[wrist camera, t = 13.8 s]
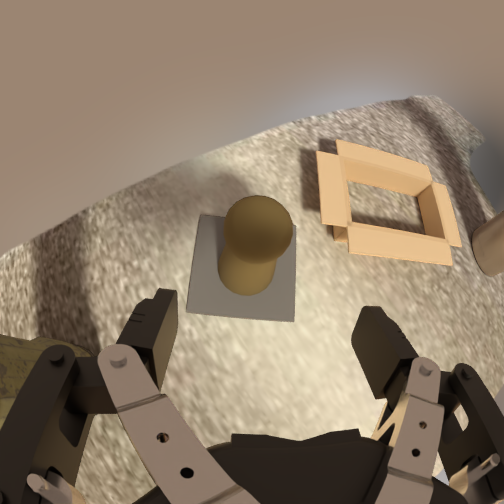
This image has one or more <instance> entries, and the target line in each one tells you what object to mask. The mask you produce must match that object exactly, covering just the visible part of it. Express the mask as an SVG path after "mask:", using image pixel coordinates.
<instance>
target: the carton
mask: <svg viewBox="0 0 504 504" xmlns="http://www.w3.org/2000/svg"><path fill="white" fill-rule="evenodd" d="M335 142H336V148H337V154H338V155H335V154H331V153H326V152H321V151H316V159H317V171H318V183H319V198H320V215H321V224H328V225H333V232H334V241H340V242H347V243H348V253H353V254H362V255H370V256H378V257H386V258H394V259H403V260H410V261H418V262H426V263H434V264H442V265H449V266H452V265H453V263H452V257H451V252H450V246H449V245H452V246H457V247H462V245H461V240H460V236H459V232H458V227H457V223H456V219H455V216H454V212H453V208H452V205H451V201H450V198H449V195H448V192H447V188H446V186H444V185H441V184H439V183H436V182H433V180H432V177H431V174H430V171H429V168H428V166H426V165H423V164H421V163H418V162H415V161H412V160H409V159H406V158H403V157H400V156H396V155H393V154H390V153H387V152H383V151H380V150H376V149H373V148H369V147H366V146H362V145H358V144H354V143H350V142H346V141H342V140H338V139H336V140H335ZM347 181H352V182H357V183H362V184H366V185H370V186H375V187H379V188H383V189H387V190H391V191H395V192H399V193H403V194H407V195H411V196H414V197H417V198H418V202H419V207H420V211H421V215H422V220H423V224H424V229H425V234H426V235H422V234H417V233H412V232H407V231H401V230H396V229H391V228H385V227H379V226H374V225H368V224H362V223H356V222H352V218H351V209H350V201H349V193H348V186H347Z"/></svg>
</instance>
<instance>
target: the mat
mask: <svg viewBox="0 0 504 504" xmlns="http://www.w3.org/2000/svg"><path fill="white" fill-rule="evenodd" d="M224 220H225V217H219V216H209V215H200V221H199V227H198V233H197V239H196V245H195V252H194V259H193V265H192V272H191V280H190V287H189V295H188V303H187V311H186V312H187V313H196V314H204V315H213V316H223V317H233V318H244V319H256V320H269V321H284V322H294V316H295V281H296V225H293V236H292V240H291V243H290V245H289V247H288V248H287V249H286V251H285V252H284V253H283V255H282V256H280V257H279V258H277V262H276V267H275V272H274V276H273V279H272V282H271V283H270V284H269V286H268V287H267V288H266V289H265V290H263V291H262V292H260V293H258V294H255V295H251V296H243V295H239V294H236V293H233V292H231V291H230V290H229V289H227V288H226V287H225V286H224V284H223V283H222V281H221V280H220V277H219V274H218V261H219V259H220V256H221V254H222V251H223V249H224V247H225V244H226V241H225V238H224V235H223V229H224Z"/></svg>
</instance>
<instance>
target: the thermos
mask: <svg viewBox="0 0 504 504" xmlns="http://www.w3.org/2000/svg"><path fill="white" fill-rule="evenodd" d="M58 344H62V345H66V346H68V347H70V348H71V349H72V350H73V351H74V353H75V356H76V357H94V355H93V354H92V353H91V352H90V351H88V350H86V349H85V348H83V347H82V346H78V345H74V344H71V343H68V342H64V341H60V340H55V339H50V338H45V337H40V336H39V337H37V338H35V339H33V340H30V341H29V340H24V339H19V338H15V337H10V336H6V335H1V334H0V430H1V428H2V426H3V423H4V421H5V419H6V417H7V415H8V413H9V411H10V409H11V407H12V405H13V403H14V401H15V399H16V397H17V395H18V393H19V391H20V389H21V388H22V386H23V384H24V382H25V380H26V379H27V377H28V375H29V373H30V372H31V370H32V368H33V367H34V365H35V363H36V362H37V360H38V358H39V357H40V355H41V353H42V352H43V351H44V350H45V349H46V348H48V347H50V346H53V345H58ZM95 415H97V414H95ZM95 415H94V416H95Z"/></svg>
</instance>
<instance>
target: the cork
mask: <svg viewBox="0 0 504 504" xmlns="http://www.w3.org/2000/svg"><path fill="white" fill-rule="evenodd" d="M223 235H224V238H225V241H226V244H225V247H224V249H223V251H222V254H221V256H220V259H219V261H218V274H219V277H220V280H221V281H222V283H223V284H224V286H225V287H226V288H227V289H229V290H230V291H231V292H233V293H236V294H239V295H243V296H251V295H255V294H258V293H260V292H262V291H263V290H265V289H266V288H267V287H268V286H269V284H270V283H271V282H272V279H273V276H274V272H275V267H276V262H277V258H279V257H280V256H282V255H283V253H284V252H285V251H286V249H287V248H288V247H289V245H290V243H291V240H292V236H293V223H292V220H291V217H290V215H289V213H288V211H287V210H286V209H285V208H284V207H283V205H282V204H280V203H279V202H277V201H276V200H274V199H272V198H269V197H266V196H258V195H255V196H250V197H245V198H243V199H241V200H239V201H238V202H236V203H235V204H234V205H233V206H232V207H231V208H230V209H229V211H228V213H227V215H226V217H225V220H224V229H223Z"/></svg>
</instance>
